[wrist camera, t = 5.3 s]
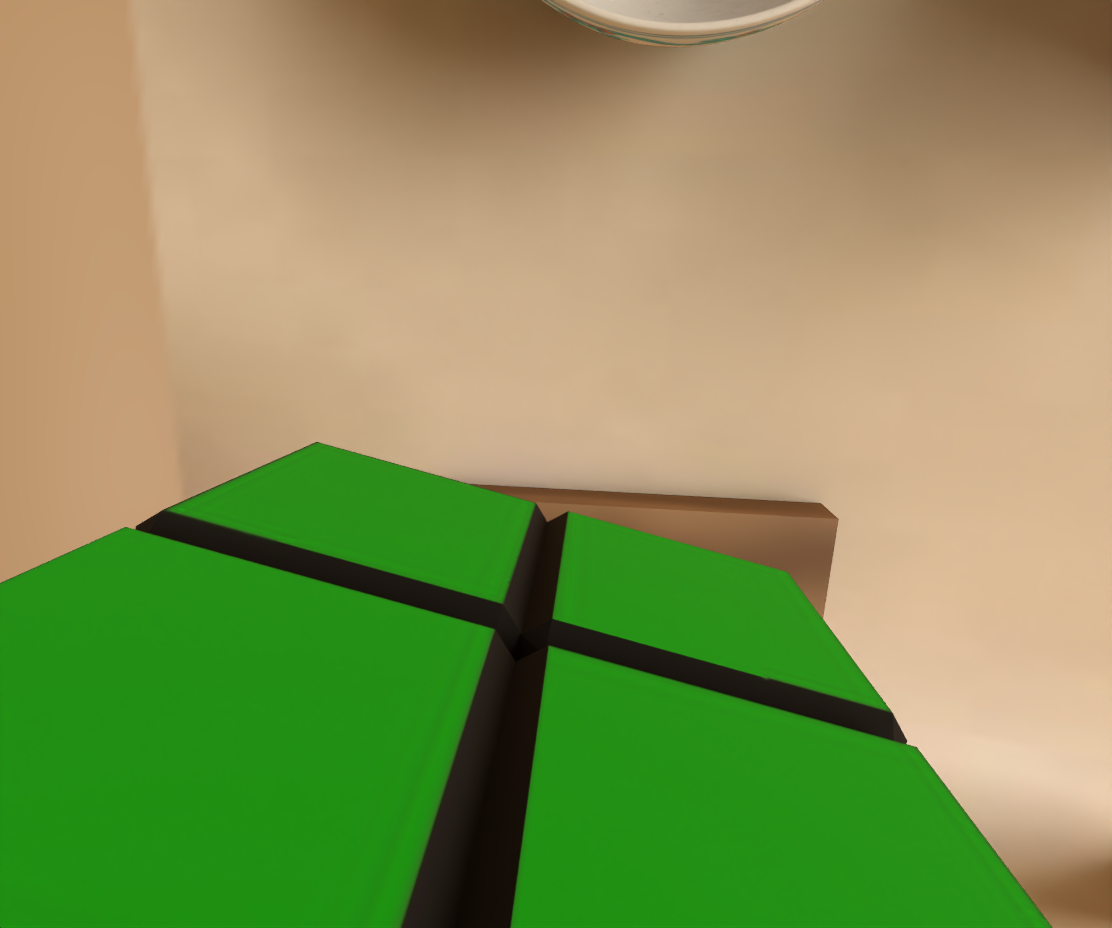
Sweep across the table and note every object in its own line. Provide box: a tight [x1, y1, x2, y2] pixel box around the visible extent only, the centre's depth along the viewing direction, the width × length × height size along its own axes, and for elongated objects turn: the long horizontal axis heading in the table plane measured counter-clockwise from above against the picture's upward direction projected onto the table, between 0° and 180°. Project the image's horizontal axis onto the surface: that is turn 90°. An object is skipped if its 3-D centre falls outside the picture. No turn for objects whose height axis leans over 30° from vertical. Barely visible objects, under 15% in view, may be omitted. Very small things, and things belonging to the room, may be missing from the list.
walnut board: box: [470, 484, 838, 619], centre depth 28 cm, size 16×16×2 cm
